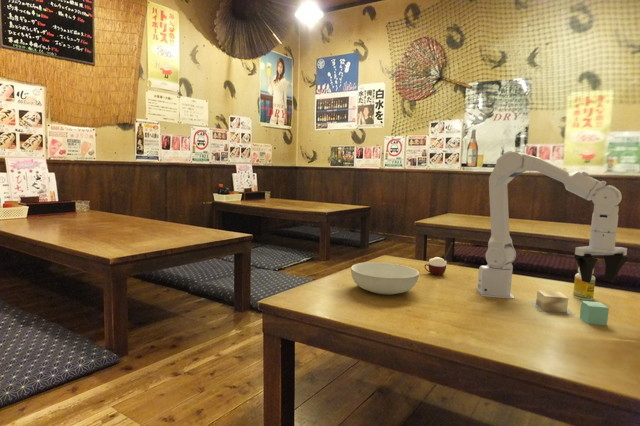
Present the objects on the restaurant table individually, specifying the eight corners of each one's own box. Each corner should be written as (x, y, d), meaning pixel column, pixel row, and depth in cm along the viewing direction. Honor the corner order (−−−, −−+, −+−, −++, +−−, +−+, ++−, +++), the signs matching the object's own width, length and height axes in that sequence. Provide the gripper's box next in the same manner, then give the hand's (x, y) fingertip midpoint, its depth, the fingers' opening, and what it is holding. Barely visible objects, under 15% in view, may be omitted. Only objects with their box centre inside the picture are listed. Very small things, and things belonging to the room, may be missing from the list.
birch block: (543, 310, 116) (544, 296, 115) (536, 303, 121) (537, 290, 121) (566, 312, 115) (568, 298, 114) (558, 305, 120) (559, 291, 120)
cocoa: (423, 274, 153) (423, 242, 152) (428, 271, 158) (428, 239, 157) (449, 278, 148) (449, 244, 147) (453, 274, 153) (454, 241, 152)
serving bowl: (431, 298, 124) (433, 275, 123) (369, 304, 116) (370, 280, 116) (394, 279, 143) (395, 260, 143) (339, 283, 136) (339, 263, 135)
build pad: (539, 312, 114) (539, 311, 114) (528, 302, 123) (528, 301, 123) (574, 315, 113) (575, 314, 113) (561, 305, 122) (561, 304, 122)
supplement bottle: (577, 294, 133) (581, 265, 132) (596, 299, 129) (599, 269, 128) (569, 297, 130) (572, 267, 129) (588, 302, 126) (591, 270, 125)
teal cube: (587, 325, 106) (589, 306, 106) (579, 319, 111) (581, 300, 110) (606, 326, 106) (608, 307, 105) (598, 320, 110) (600, 302, 109)
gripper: (593, 233, 105) (587, 286, 107) (640, 233, 108) (634, 285, 110) (571, 229, 112) (565, 278, 114) (615, 229, 115) (610, 277, 117)
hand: (597, 281), depth 112 cm, fingers open, 7 cm apart
